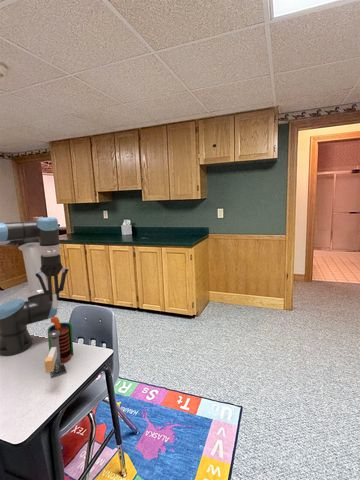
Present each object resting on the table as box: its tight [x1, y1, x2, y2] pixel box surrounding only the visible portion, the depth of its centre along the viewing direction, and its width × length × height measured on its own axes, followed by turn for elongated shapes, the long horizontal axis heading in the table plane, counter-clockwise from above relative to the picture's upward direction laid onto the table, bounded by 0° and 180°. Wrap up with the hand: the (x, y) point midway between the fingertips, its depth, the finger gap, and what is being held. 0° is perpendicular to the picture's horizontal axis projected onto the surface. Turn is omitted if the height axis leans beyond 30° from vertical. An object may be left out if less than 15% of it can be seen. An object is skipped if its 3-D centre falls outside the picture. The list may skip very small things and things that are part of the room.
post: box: [47, 330, 68, 379], centre depth 111 cm, size 6×6×18 cm
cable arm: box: [44, 347, 57, 374], centre depth 104 cm, size 3×10×5 cm, turn 15°
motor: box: [47, 316, 74, 365], centre depth 120 cm, size 10×9×20 cm
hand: (55, 307), depth 114 cm, fingers closed
